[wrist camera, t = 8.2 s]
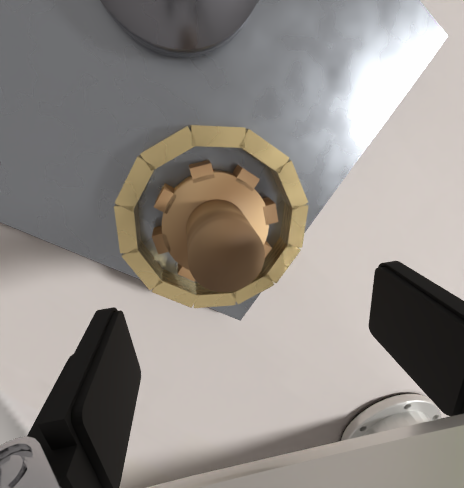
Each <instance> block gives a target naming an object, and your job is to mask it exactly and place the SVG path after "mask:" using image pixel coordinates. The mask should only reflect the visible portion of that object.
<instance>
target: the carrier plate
mask: <svg viewBox="0 0 464 488" xmlns="http://www.w3.org/2000/svg"><path fill="white" fill-rule="evenodd" d="M447 37H448V35H447V34H446V33H445V31H444V30H443V29H442V28H441V26H440V25H439V24H438V23H437V21H436V20H435V19H434V17H433V16H432V15H431V14H430V12H429V11H428V10H427V9H426V7H425V6H424V5H423V4H422V2H421V1H420V0H0V222H1V223H3V224H6V225H8V226H10V227H13V228H15V229H18V230H20V231H23V232H25V233H28V234H30V235H32V236H35V237H37V238H40V239H42V240H45V241H47V242H50V243H52V244H54V245H57V246H59V247H62V248H64V249H67V250H69V251H72V252H74V253H76V254H79V255H81V256H84V257H86V258H89V259H91V260H94V261H96V262H98V263H101V264H103V265H106V266H108V267H111V268H113V269H115V270H118V271H120V272H123V273H125V274H128V275H130V276H133V277H135V278H137V279H140V280H141V281H142V282H143V283H144V284H145V285H146V287H147V288H148V289H149V290H151V289H152V292H153V293H156V294H158V295H161V296H163V297H166V298H168V299H171V300H173V301H176V302H178V303H181V304H183V305H186V306H188V307H192V306H193V304H194V308H202V307H208V308H211V309H213V310H216V311H218V312H221V313H223V314H225V315H228V316H230V317H233V318H235V319H238V320H241V319H242V318H243V316H244V315H245V314H246V312H247V311H248V309H249V308H250V307H251V305H252V304H253V303H254V301H255V300H256V299H257V297H258V296H259V294H260V293H261V292H262V291H264V290H266V289H268V288H270V287H271V286H273V285H274V284H273V282H275V283H277V282H278V280H279V279H280V278H281V276H282V275H283V273H284V272H285V271H286V269H287V268H288V267H289V265H290V264H291V263H292V261H293V260H294V259H295V257H296V256H297V255H298V253H299V252H300V251H301V250H300V249H299V248H300V247H302V244H303V238H304V233H305V231H306V230H307V229H308V227H309V226H310V225H311V223H312V222H313V221H314V219H315V218H316V216H317V215H318V214H319V212H320V211H321V210H322V208H323V207H324V205H325V204H326V203H327V201H328V200H329V199H330V197H331V196H332V195H333V193H334V192H335V190H336V189H337V188H338V186H339V185H340V184H341V182H342V181H343V179H344V178H345V177H346V175H347V174H348V173H349V171H350V170H351V169H352V167H353V166H354V164H355V163H356V162H357V160H358V159H359V158H360V156H361V155H362V153H363V152H364V151H365V149H366V148H367V147H368V145H369V144H370V143H371V141H372V140H373V138H374V137H375V136H376V134H377V133H378V132H379V130H380V129H381V127H382V126H383V125H384V123H385V122H386V121H387V119H388V118H389V117H390V115H391V114H392V112H393V111H394V110H395V108H396V107H397V106H398V104H399V103H400V101H401V100H402V99H403V97H404V96H405V95H406V93H407V92H408V91H409V89H410V88H411V86H412V85H413V84H414V82H415V81H416V80H417V78H418V77H419V75H420V74H421V73H422V71H423V70H424V69H425V67H426V66H427V65H428V63H429V62H430V60H431V59H432V58H433V56H434V55H435V54H436V52H437V51H438V49H439V48H440V47H441V45H442V44H443V43H444V41H445V40H446V39H447ZM206 160H209V161H210V162H211V164H212V168H213V170H221V171H226V172H230V173H233V171H234V170H235V168H236V166H237V165H239V166H241V167H242V168H244V169H245V170H247V171H249V172H250V173H252V174H253V175H255V176H256V177H257V178H259V179H260V180H259V182H258V183H257V185H256V187H255V188H254V189H255V190H256V191H257V192H258V194H259V195H260V196H261V198H262V199H263V198H267V197H269V198H270V199H271V200H272V201H273V202H274V203H276V209H277V216H278V222H276V223H272V224H269V229H268V235H267V238H266V241H267V242H268V243H269V245H270V246H271V247H272V249H271V250H270V251H269V253H268V254H267V256H266V257H265V260H264V264H263V267H262V269H261V271H260V273H259V274H258V276H257V277H256V278H255V279H254V280H253V281H252V282H251V283H250V284H248V285H247V286H245V287H243V288H241V289H239V290H236V291H231V292H216V291H212V290H209V289H206V288H205V287H203V286H201V285H200V284H199V283H198V282H197V281H196V280H195V282H194V281H192V280H190V279H187V278H185V277H183V276H181V275H178V263H177V262H176V261H175V260H174V259H173V257H172V256H171V255H170V253H169V252H166V253H162V254H159V255H158V252H157V249H156V247H155V244H154V242H153V239H152V233H153V229H154V227H158V226H162V217H163V212H162V211H160V210H158V209H156V208H154V204H155V201H156V199H157V197H158V195H159V193H160V192H161V190H162V188H163V186H164V184H165V183H166V184H168V185H170V186H171V187H173V188H175V187H176V186H177V185H178V184H179V183H180V182H181V181H183V180H184V179H186V178H187V177H189V176H191V172H190V169H189V165H190V164H194V163H198V162H202V161H206ZM272 281H273V282H272Z"/></svg>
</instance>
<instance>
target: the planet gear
mask: <svg viewBox="0 0 464 488" xmlns="http://www.w3.org/2000/svg"><path fill="white" fill-rule="evenodd" d="M189 169H190V172H191V176H189V177H187V178H186V179H184V180H183V181H181V182H180V183H179V184H178V185H177V186H176V187H175V188H173V187H171V186H170V185H168V184H166V183H165V184H164V186H163V188H162V190H161V192H160V193H159V195H158V197H157V199H156V201H155V204H154V208H156V209H158V210H160V211H162V212H163V217H162V226H158V227H154V229H153V233H152V239H153V242H154V244H155V247H156V249H157V252H158V255H159V254H162V253H166V252H169V253H170V255H171V256H172V257H173V259H174V260H175V261H176V262H177V263H178V275H181V276H183V277H185V278H187V279H190V280H192V281H194V282H195V280H196V281H197V282H198V283H199V284H200V285H201V286H203V287H205V288H206V289H209V290H212V291H216V292H231V291H236V290H239V289H241V288H243V287H245V286H247V285H248V284H250V283H251V282H252V281H253V280H254V279H255V278H256V277H257V276H258V274H259V273H260V271H261V269H262V267H263V264H264V260H265V257H266V256H267V254H268V253H269V251H270V250H271V249H272V247H271V246H270V245H269V243H268V242H267V241H266V238H267V235H268V229H269V224H272V223H276V222H278V216H277V209H276V203H274V202H273V201H272V200H271V199H270V198H269V197H267V198H263V199H262V198H261V196H260V195H259V194H258V192H257V191H256V190H255V189H254V188H255V187H256V185H257V183H258V182H259V180H260V179H259V178H257V177H256V176H255V175H253V174H252V173H250V172H249V171H247V170H245V169H244V168H242V167H241V166H239V165H237V166H236V168H235V170H234V171H233V173H230V172H226V171H221V170H213V168H212V164H211V162H210V161H209V160H206V161H202V162H198V163H194V164H190V165H189Z"/></svg>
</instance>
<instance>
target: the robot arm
mask: <svg viewBox="0 0 464 488" xmlns="http://www.w3.org/2000/svg"><path fill="white" fill-rule="evenodd" d="M369 329H370V332H371V334H372V335H373V336H374V337H375V339H376V340H377V341H378V342H379V343H380V344H381V345H382V346H383V347H384V348H385V350H386V351H387V352H388V353H389V354H390V355H391V356H392V357H393V358H394V359H395V360H396V362H397V363H398V364H399V365H400V366H401V367H402V368H403V369H404V370H405V371H406V373H407V374H408V375H409V376H410V377H411V378H412V379H413V380H414V381H415V382H416V384H417V385H418V386H419V387H420V388H421V389H422V390H423V391H424V392H425V393H426V395H427V396H428V397H429V398H430V399H431V400H430V399H429V398H428V397H425V396H423V395H418V394H402V395H397V396H393V397H390V398H386V399H384V400H382V401H380V402H377V403H375V404H374V405H372V406H370V407H368V408H367V409H365V410H364V411H363V412H361V413H360V414H359V415H358V416H357V417H356V418H354V419H353V420H352V422H351V423H350V424H349V425H348V426H347V428H346V430H345V431H344V433H343V436H342V439H341V441H339V442H335V443H331V444H326V445H322V446H317V447H313V448H309V449H304V450H300V451H296V452H291V453H287V454H283V455H278V456H274V457H270V458H266V459H261V460H257V461H253V462H249V463H244V464H240V465H236V466H232V467H227V468H223V469H219V470H214V471H210V472H206V473H202V474H197V475H193V476H189V477H185V478H181V479H177V480H173V481H169V482H165V483H161V484H157V485H153V486H150V487H146V488H464V301H463V300H461V299H460V298H458V297H456V296H455V295H453V294H451V293H450V292H448V291H447V290H445V289H443V288H442V287H440V286H438V285H437V284H435V283H433V282H432V281H430V280H428V279H427V278H425V277H424V276H422V275H420V274H419V273H417V272H415V271H414V270H412V269H410V268H409V267H407V266H405V265H404V264H402V263H401V262H398V261H392V262H386V263H381V264H380V265H379V267H378V268H376V270H375V275H374V284H373V293H372V301H371V310H370V319H369ZM140 380H141V370H140V366H139V363H138V359H137V356H136V353H135V350H134V346H133V343H132V340H131V337H130V333H129V330H128V327H127V324H126V320H125V317H124V314H123V312H122V311H117V309H116V308H108V309H102V310H97V311H96V313H95V314H94V316H93V318H92V320H91V322H90V324H89V326H88V328H87V330H86V332H85V334H84V336H83V337H82V339H81V341H80V343H79V345H78V347H77V349H76V351H75V353H74V354H73V355H72V356H70V358H69V359H68V361H67V363H66V364H65V366H64V368H63V370H62V372H61V374H60V376H59V377H58V379H57V381H56V383H55V385H54V387H53V389H52V391H51V392H50V394H49V396H48V398H47V400H46V402H45V404H44V406H43V407H42V409H41V411H40V413H39V415H38V417H37V419H36V421H35V422H34V424H33V426H32V428H31V430H30V432H29V434H28V435H27V437H19V438H16V439H13V440H11V441H8V442H6V443H4V444H3V445H1V446H0V488H119V486H120V482H121V477H122V472H123V467H124V462H125V457H126V452H127V447H128V441H129V436H130V431H131V426H132V421H133V416H134V411H135V406H136V401H137V396H138V390H139V385H140ZM434 403H435V404H436V405H437V406H436V405H435V404H434ZM440 410H441V411H442V412H443V413H444V414H446V415H449V416H450V417H446V418H441V412H440Z"/></svg>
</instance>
